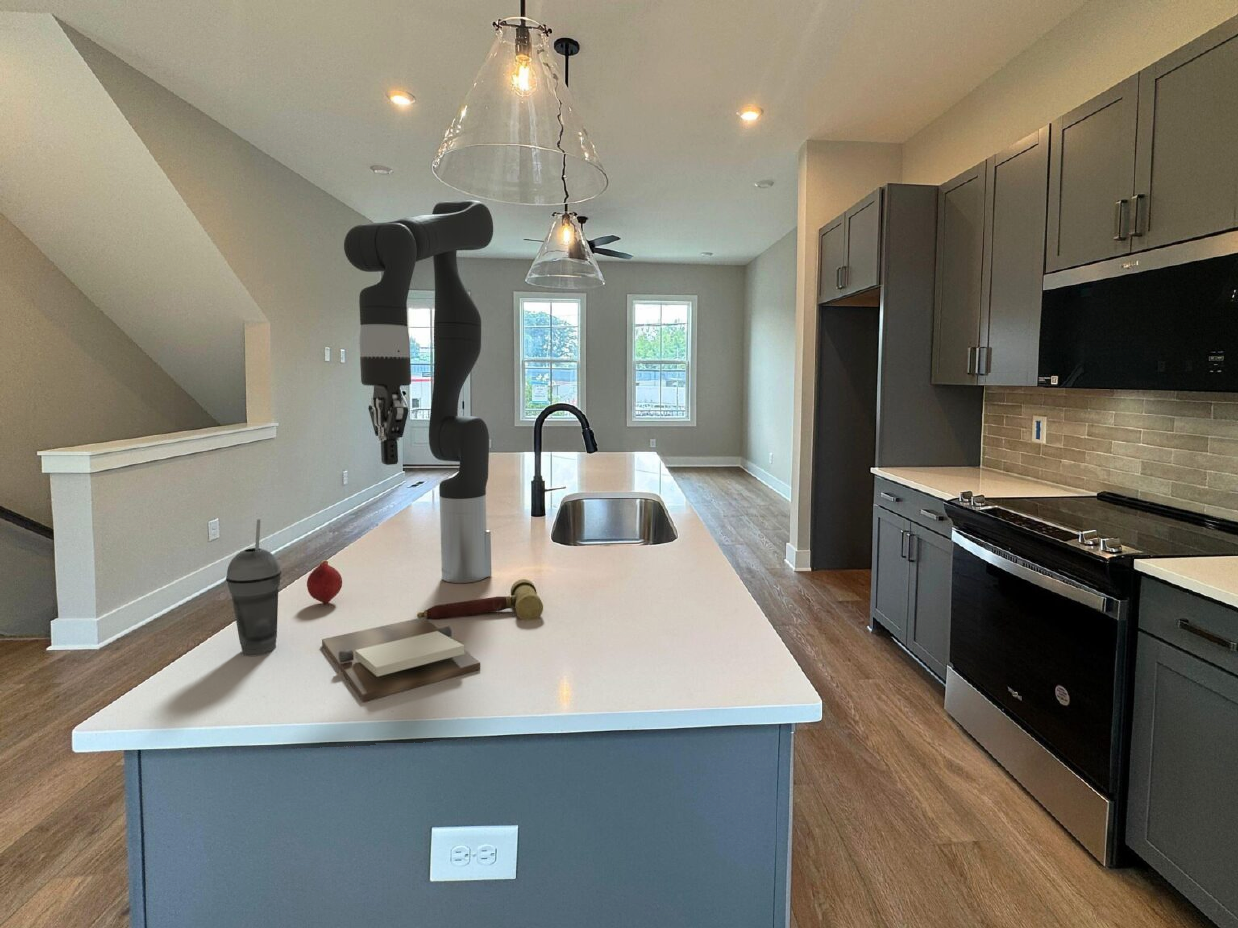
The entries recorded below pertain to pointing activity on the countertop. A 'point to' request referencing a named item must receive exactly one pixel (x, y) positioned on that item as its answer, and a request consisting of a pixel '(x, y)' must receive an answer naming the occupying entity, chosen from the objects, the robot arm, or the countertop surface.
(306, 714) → the countertop surface
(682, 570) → the countertop surface
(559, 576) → the countertop surface
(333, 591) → the onion
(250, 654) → the beverage cup
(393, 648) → the tile
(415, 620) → the walnut board
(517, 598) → the gavel
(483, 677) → the countertop surface
